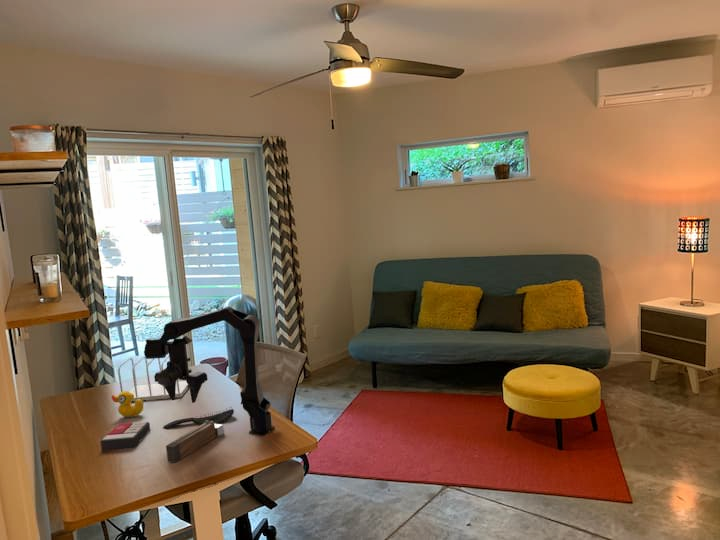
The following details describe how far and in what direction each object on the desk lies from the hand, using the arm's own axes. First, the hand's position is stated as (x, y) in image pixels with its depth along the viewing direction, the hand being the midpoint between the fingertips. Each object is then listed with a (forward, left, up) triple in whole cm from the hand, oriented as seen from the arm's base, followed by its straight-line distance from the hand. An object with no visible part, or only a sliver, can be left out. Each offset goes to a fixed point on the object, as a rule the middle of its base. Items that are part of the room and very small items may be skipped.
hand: (183, 401), depth 180 cm
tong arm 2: (-11, +8, -12) cm, 18 cm away
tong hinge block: (-10, -3, -12) cm, 16 cm away
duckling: (+35, -7, -12) cm, 38 cm away
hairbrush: (+3, -10, -13) cm, 16 cm away
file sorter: (+44, -30, -12) cm, 55 cm away
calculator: (+19, +9, -13) cm, 24 cm away
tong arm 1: (-9, +8, -12) cm, 17 cm away
